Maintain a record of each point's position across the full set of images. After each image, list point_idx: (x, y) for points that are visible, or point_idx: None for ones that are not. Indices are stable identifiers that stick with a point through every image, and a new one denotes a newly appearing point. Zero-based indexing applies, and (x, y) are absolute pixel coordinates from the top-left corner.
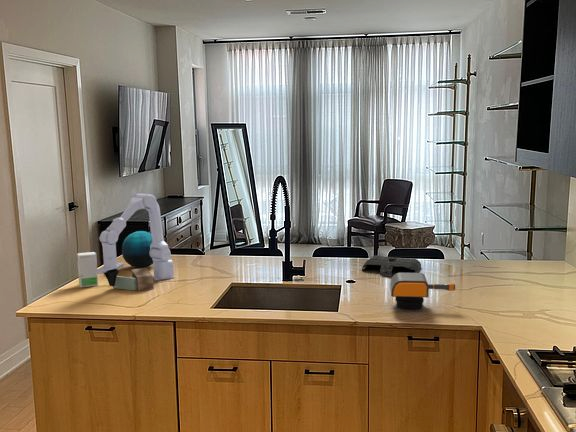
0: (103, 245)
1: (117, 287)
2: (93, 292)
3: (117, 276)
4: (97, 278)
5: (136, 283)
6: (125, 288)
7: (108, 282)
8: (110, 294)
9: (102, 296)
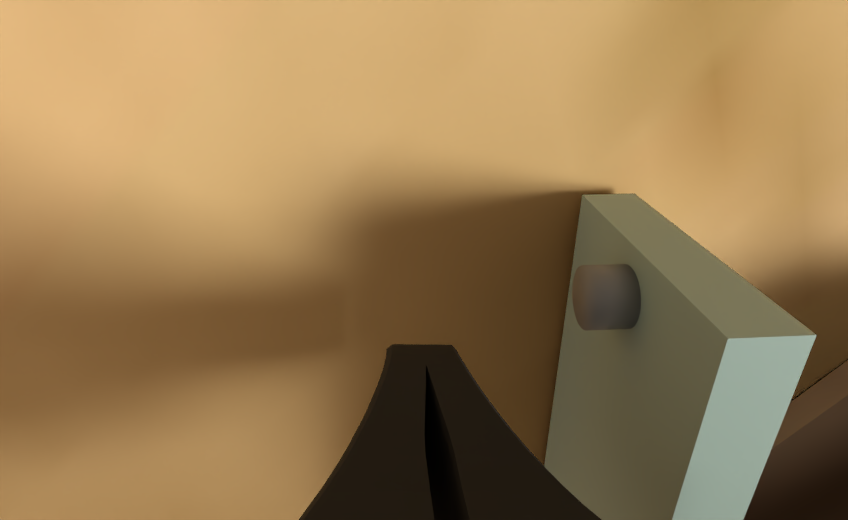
0: None
1: (572, 310)
2: (159, 13)
3: (698, 497)
4: None
5: (841, 429)
6: (549, 458)
7: (378, 387)
8: (257, 408)
9: (104, 378)
